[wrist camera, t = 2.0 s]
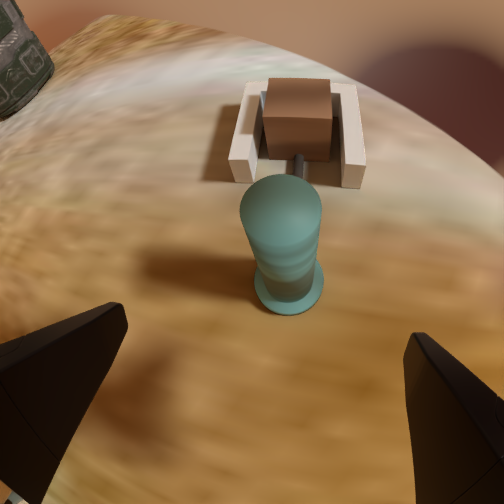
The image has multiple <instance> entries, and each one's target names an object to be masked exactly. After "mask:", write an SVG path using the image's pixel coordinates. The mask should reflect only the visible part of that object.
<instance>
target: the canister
mask: <svg viewBox="0 0 504 504" xmlns="http://www.w3.org/2000/svg"><path fill="white" fill-rule="evenodd" d="M23 18H24V16H23V14H22V12H21V11H20V9H19V7H18V6H17V4H16V2H15V1H14V0H0V118H1V117H4V116H6V115H9V114H11V113H13V112H15V111H19V110H20V109H21V108H22V107H24V106H25V105H26V104H27V103H28V102H29V101H30V100H31V99H32V98H34V97H35V96H36V95H37V94H38V90H39V89H40V88H41V87H42V86H43V85H44V83H45V82H46V81H47V79H48V78H49V79H50V78H51V76H52V74H53V72H54V63H53V62H52V61H51V58H50V56H49V55H48V53H47V52H46V50H45V49H44V47H43V45H42V44H41V43H40V41H39V39H38V38H37V36H36V35H35V34H34V32H33V31H30V29H29V28H28V26H27V24H26V23H25V21H24V20H23Z"/></svg>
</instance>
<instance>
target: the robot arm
mask: <svg viewBox="0 0 504 504" xmlns="http://www.w3.org/2000/svg"><path fill="white" fill-rule="evenodd" d="M127 330H128V322H127V318H126V314H125V310H124V307H123V305H122V304H121V303H116V302H109V303H106V304H104V305H101V306H98V307H96V308H93V309H91V310H88V311H86V312H83V313H80V314H78V315H75V316H73V317H70V318H68V319H65V320H62V321H60V322H57V323H55V324H52V325H50V326H47V327H45V328H42V329H39V330H37V331H34V332H32V333H29V334H27V335H26V336H21V337H19V338H16V339H14V340H11V341H8V342H6V343H3V344H0V504H12V502H11V501H10V500H9V499H8V497H9V495H10V494H11V492H12V491H14V492H15V493H16V494H17V495H19V496H20V497H21V498H22V499H24V500H25V501H26V502H28V503H29V504H41V503H42V501H43V498H44V496H45V494H46V492H47V490H48V487H49V485H50V483H51V481H52V479H53V477H54V475H55V472H56V470H57V468H58V466H59V464H60V461H61V460H62V458H63V456H64V454H65V452H66V450H67V448H68V446H69V444H70V442H71V440H72V438H73V436H74V434H75V432H76V430H77V428H78V426H79V424H80V422H81V420H82V418H83V417H84V415H85V413H86V411H87V409H88V407H89V405H90V404H91V402H92V400H93V398H94V396H95V394H96V393H97V391H98V389H99V387H100V385H101V384H102V382H103V380H104V378H105V376H106V375H107V373H108V371H109V369H110V367H111V366H112V363H113V361H114V359H115V357H116V355H117V352H118V350H119V348H120V346H121V343H122V341H123V339H124V337H125V335H126V332H127ZM403 364H404V378H405V397H406V408H407V416H408V422H409V430H410V438H411V446H412V455H413V466H414V478H415V493H416V504H504V400H503V399H502V398H500V397H499V396H498V397H497V394H496V393H495V392H494V391H493V390H491V389H490V388H489V387H488V386H487V385H486V384H485V383H484V382H482V381H481V380H480V379H479V378H478V377H477V376H476V375H474V374H473V373H472V372H471V371H470V370H469V369H468V368H466V367H465V366H464V365H463V364H462V363H461V362H459V361H458V360H457V359H456V358H455V357H454V356H452V355H451V354H450V353H449V352H448V351H447V350H445V349H444V348H443V347H442V346H441V345H439V344H438V343H437V342H436V341H435V340H433V339H432V338H431V337H430V336H429V335H427V334H426V333H424V332H413V333H412V334H411V336H410V338H409V341H408V344H407V347H406V350H405V353H404V357H403Z"/></svg>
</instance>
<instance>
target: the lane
mask: <svg viewBox="0 0 504 504" xmlns="http://www.w3.org/2000/svg"><path fill="white" fill-rule="evenodd" d="M267 87H268V82H247V83H246V87H245V91H244V95H243V99H242V103H241V107H240V111H239V115H238V119H237V123H236V128H235V132H234V136H233V140H232V145H231V149H230V153H229V158H228V161H229V164H230V167H231V170H232V173H233V176H234V179H235V182H236V183H254V178H255V172H256V166H257V160H258V153H259V147H260V141H261V135H262V128H263V118H262V116H263V110H264V104H265V98H266V92H267ZM330 87H331V103H332V117H338V118H339V134H340V154H341V185H342V187H344V188H356V189H360V187H361V183H362V180H363V176H364V172H365V168H366V160H365V150H364V141H363V133H362V125H361V117H360V110H359V104H358V97H357V91H356V85H350V84H338V83H330Z"/></svg>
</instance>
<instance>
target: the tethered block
mask: <svg viewBox="0 0 504 504" xmlns="http://www.w3.org/2000/svg"><path fill="white" fill-rule="evenodd" d="M262 118H263V124H264V130H265V136H266V142H267V148H268V154H269V159H273V160H294V165H293V175H287V174H277V175H271V176H267V177H265V178H262V179H260V180H258V181H257V182H255V183H254V184H253V185H252V186H251V187H250V188H249V189H248V190H247V191H246V192H245V194H244V196H243V198H242V200H241V204H240V218H241V221H242V224H243V227H244V229H245V232H246V235H247V237H248V240H249V243H250V246H251V248H252V251H253V254H254V256H255V259H256V262H257V265H258V266H257V269H256V271H255V276H254V286H255V290H256V293H257V295H258V297H259V299H260V301H261V302H262V303H263V305H264V306H265V307H266V308H268V309H269V310H270V311H272V312H274V313H276V314H280V315H284V316H293V315H298V314H301V313H304V312H305V311H307V310H309V309H310V308H311V307H312V306H313V305H314V304H315V303H316V302H317V301H318V299H319V297H320V295H321V292H322V288H323V283H324V276H323V271H322V268H321V266H320V264H319V262H318V261H317V260H316V255H317V247H318V239H319V230H320V221H321V212H322V205H321V200H320V197H319V195H318V193H317V192H316V190H315V189H314V188H313V187H312V186H311V185H310V184H309V183H308V182H307V181H305V180H303V164H304V161H320V162H329V156H330V145H331V132H332V103H331V87H330V80H329V79H308V78H269V81H268V87H267V92H266V98H265V104H264V110H263V116H262Z"/></svg>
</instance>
